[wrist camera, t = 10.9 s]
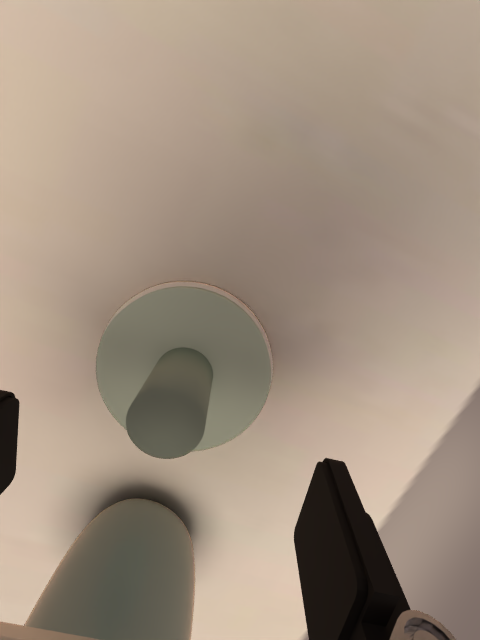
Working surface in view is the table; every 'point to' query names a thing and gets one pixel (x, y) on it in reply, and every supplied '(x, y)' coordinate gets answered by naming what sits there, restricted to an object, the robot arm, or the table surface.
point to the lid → (183, 370)
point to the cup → (123, 578)
